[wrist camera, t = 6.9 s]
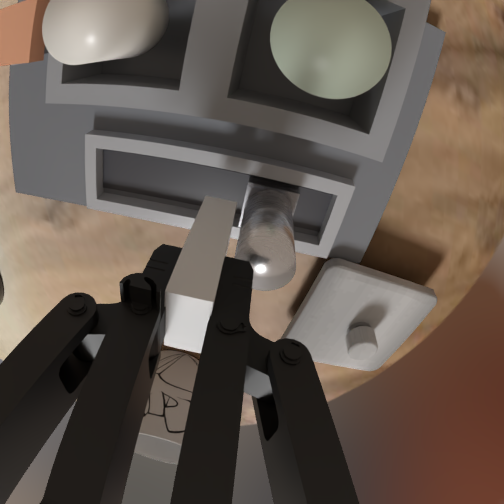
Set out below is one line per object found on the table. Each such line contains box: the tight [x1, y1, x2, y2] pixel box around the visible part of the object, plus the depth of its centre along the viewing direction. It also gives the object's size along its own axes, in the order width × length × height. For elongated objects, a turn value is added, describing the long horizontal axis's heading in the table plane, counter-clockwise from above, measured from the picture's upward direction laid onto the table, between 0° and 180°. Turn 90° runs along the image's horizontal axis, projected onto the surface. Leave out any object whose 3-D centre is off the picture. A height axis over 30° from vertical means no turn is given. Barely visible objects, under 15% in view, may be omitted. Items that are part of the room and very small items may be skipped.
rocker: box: [0, 0, 50, 66], centre depth 10 cm, size 5×4×1 cm
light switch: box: [281, 258, 437, 371], centre depth 23 cm, size 10×10×5 cm
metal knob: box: [235, 175, 300, 291], centre depth 16 cm, size 3×3×6 cm
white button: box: [42, 0, 169, 65], centre depth 9 cm, size 4×4×4 cm
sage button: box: [270, 0, 392, 99], centre depth 9 cm, size 4×4×4 cm
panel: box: [9, 0, 446, 264], centre depth 14 cm, size 26×16×6 cm, turn 78°
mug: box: [134, 350, 199, 464], centre depth 29 cm, size 11×8×10 cm
